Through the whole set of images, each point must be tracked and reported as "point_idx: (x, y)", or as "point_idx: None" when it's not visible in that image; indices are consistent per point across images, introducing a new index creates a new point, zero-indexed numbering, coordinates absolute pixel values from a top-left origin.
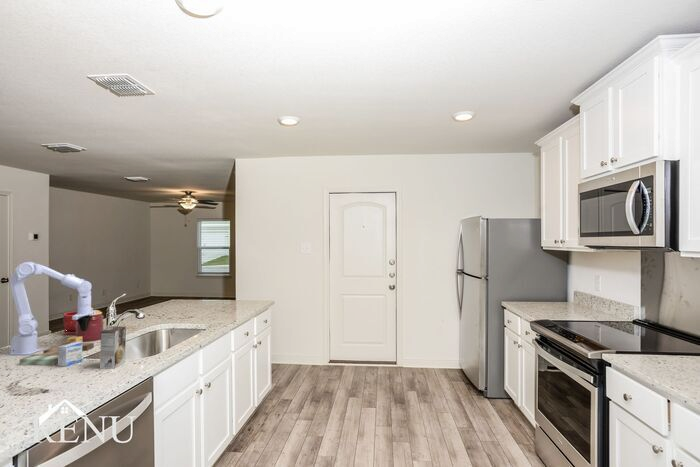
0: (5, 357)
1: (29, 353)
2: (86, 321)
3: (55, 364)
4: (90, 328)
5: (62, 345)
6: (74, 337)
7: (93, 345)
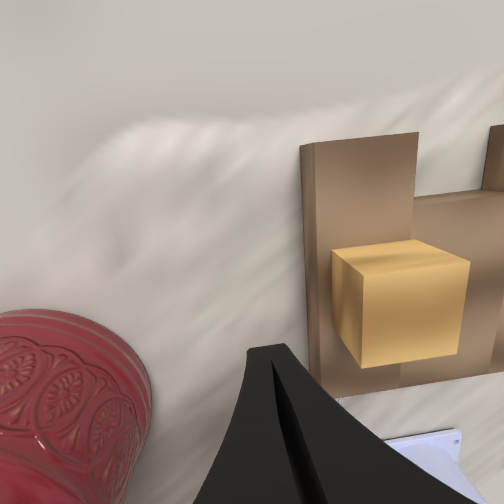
0: (480, 484)
1: (455, 435)
2: (394, 475)
3: None
4: (52, 437)
5: None
6: (407, 325)
7: (309, 144)
